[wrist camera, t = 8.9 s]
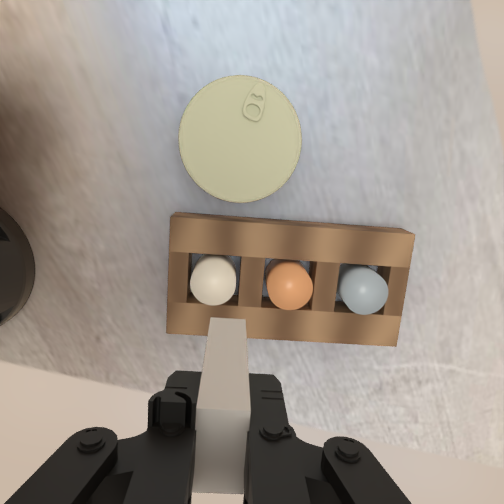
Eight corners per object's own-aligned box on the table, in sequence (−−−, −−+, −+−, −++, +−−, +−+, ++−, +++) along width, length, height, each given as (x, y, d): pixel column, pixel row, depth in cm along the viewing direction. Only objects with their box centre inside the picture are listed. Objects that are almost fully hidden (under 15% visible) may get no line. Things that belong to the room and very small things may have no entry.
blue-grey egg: (330, 297, 45) (341, 313, 41) (335, 259, 44) (347, 270, 40) (370, 300, 46) (384, 316, 41) (375, 261, 45) (391, 273, 40)
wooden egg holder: (171, 320, 45) (166, 333, 42) (175, 212, 43) (170, 216, 39) (384, 332, 47) (396, 346, 43) (401, 228, 44) (415, 234, 41)
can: (298, 117, 41) (323, 101, 29) (266, 203, 43) (277, 221, 31) (210, 82, 40) (200, 52, 28) (181, 173, 42) (160, 179, 30)
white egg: (193, 289, 44) (189, 304, 40) (195, 249, 43) (191, 260, 39) (234, 291, 45) (234, 306, 40) (237, 252, 44) (237, 263, 39)
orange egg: (263, 293, 45) (265, 308, 40) (266, 254, 44) (269, 265, 39) (302, 296, 45) (310, 311, 41) (307, 257, 44) (315, 268, 40)
